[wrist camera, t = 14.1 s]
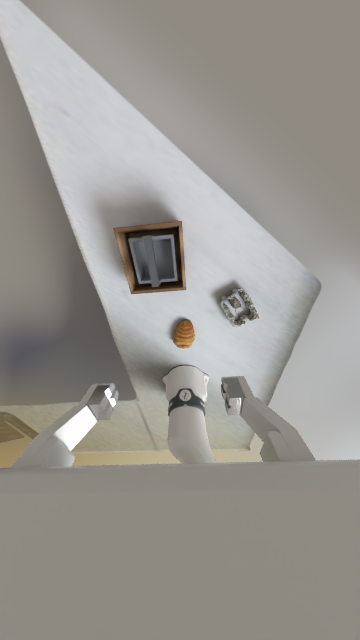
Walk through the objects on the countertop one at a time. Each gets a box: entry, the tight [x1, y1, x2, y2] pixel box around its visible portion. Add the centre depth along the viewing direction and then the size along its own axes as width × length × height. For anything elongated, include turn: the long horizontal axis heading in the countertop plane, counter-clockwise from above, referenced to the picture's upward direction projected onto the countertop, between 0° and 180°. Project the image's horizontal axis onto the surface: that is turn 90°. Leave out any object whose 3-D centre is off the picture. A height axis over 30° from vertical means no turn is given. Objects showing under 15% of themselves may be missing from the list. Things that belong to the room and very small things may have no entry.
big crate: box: [113, 221, 186, 294], centre depth 31 cm, size 13×13×7 cm
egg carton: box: [220, 288, 259, 327], centre depth 38 cm, size 11×8×4 cm
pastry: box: [173, 320, 195, 348], centre depth 43 cm, size 9×7×4 cm
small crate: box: [129, 234, 178, 287], centre depth 30 cm, size 9×9×9 cm
